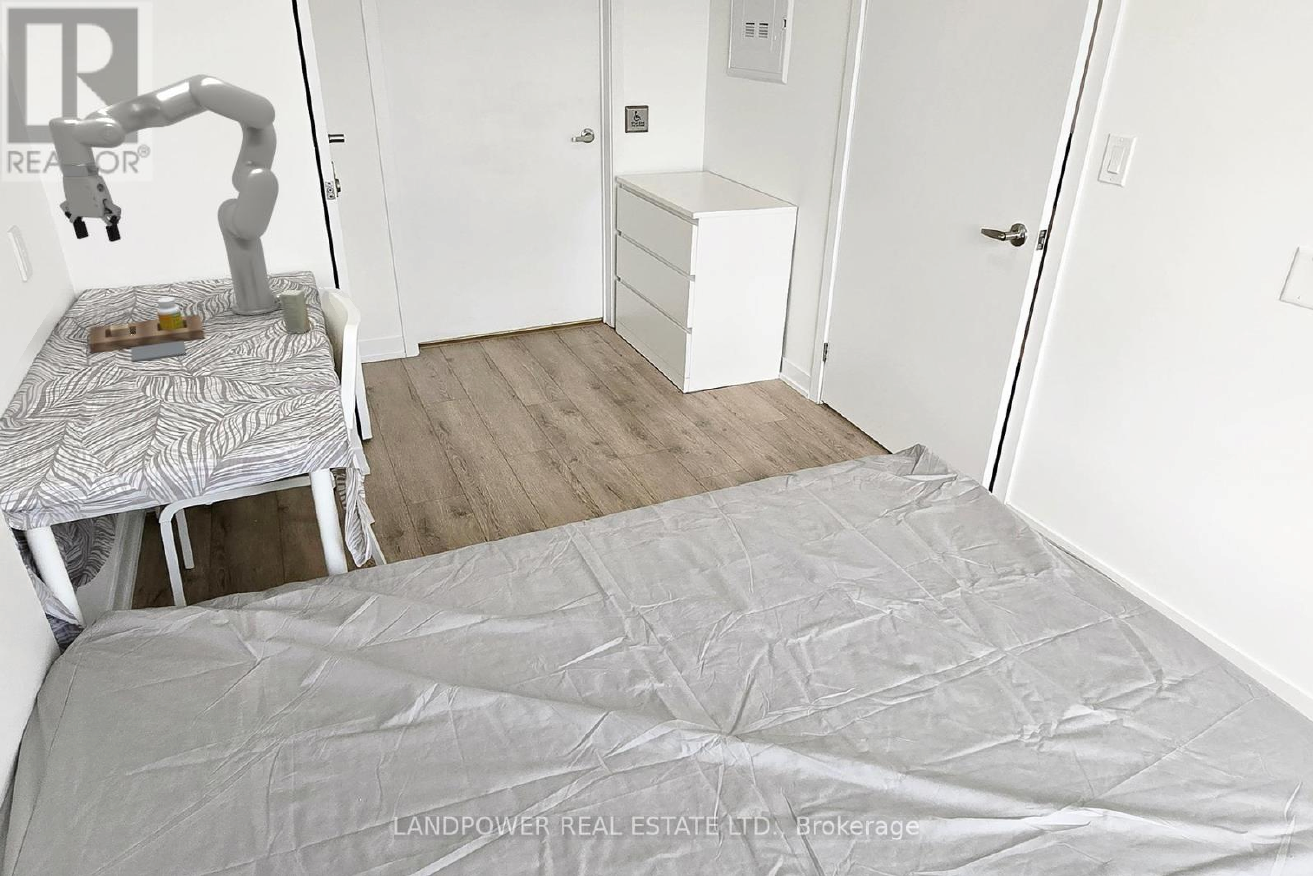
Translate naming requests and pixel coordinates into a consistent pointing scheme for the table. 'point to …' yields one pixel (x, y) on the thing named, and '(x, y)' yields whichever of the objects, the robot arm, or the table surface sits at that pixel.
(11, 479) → the table surface
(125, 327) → the maple block
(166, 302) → the supplement bottle
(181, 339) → the puzzle board
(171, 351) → the rubber mat
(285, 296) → the box
